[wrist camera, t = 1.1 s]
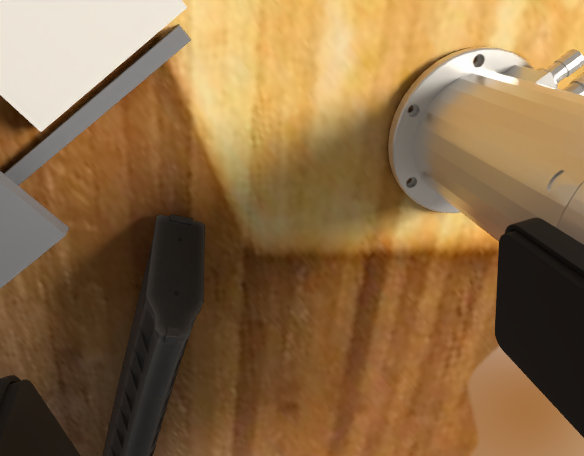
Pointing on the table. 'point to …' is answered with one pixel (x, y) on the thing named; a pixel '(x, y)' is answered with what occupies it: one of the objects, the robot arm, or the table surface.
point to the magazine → (158, 335)
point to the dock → (4, 186)
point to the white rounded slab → (70, 48)
